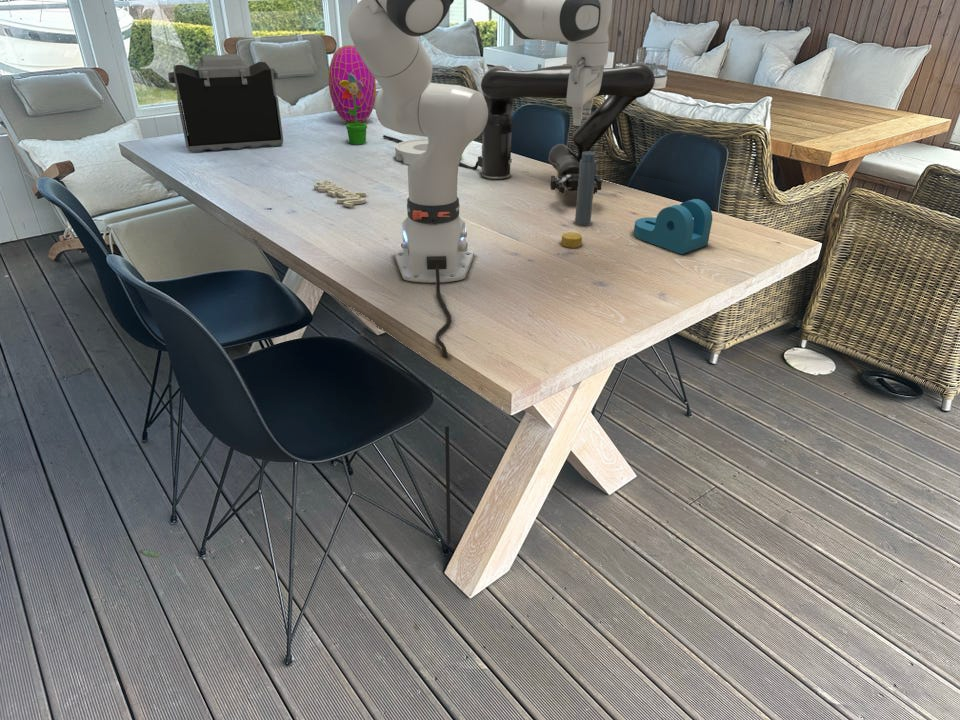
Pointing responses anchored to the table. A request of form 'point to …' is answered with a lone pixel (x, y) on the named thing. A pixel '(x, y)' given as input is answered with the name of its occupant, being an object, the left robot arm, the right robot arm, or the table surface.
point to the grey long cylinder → (585, 188)
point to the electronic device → (227, 103)
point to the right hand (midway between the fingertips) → (578, 190)
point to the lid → (571, 240)
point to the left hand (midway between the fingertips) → (581, 121)
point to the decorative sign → (340, 193)
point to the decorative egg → (339, 68)
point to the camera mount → (677, 227)
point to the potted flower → (354, 129)
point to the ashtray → (410, 149)
